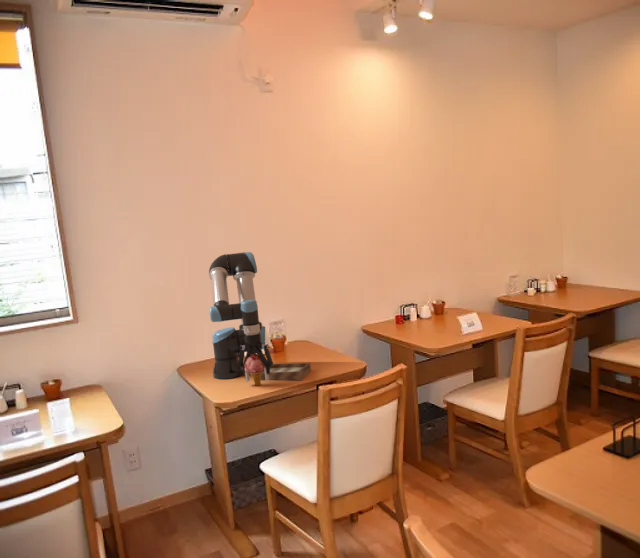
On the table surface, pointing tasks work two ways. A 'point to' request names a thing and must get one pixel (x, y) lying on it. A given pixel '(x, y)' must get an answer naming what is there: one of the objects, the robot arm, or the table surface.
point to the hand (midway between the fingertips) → (257, 380)
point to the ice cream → (254, 368)
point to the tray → (287, 372)
